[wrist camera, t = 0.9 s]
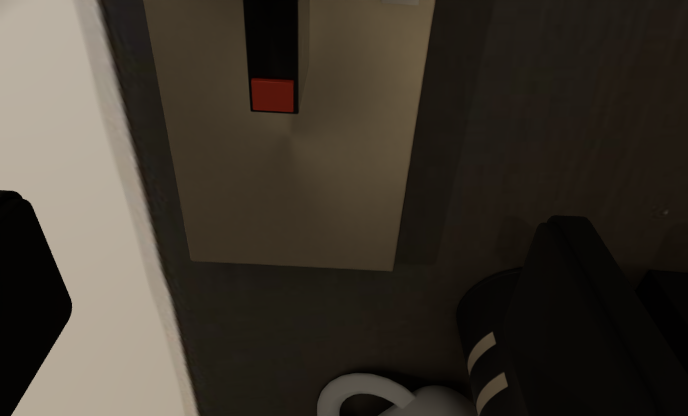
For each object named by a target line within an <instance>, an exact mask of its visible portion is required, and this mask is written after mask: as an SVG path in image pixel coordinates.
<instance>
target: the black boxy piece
mask: <svg viewBox="0 0 688 416" xmlns="http://www.w3.org/2000/svg"><path fill="white" fill-rule="evenodd" d="M243 11H244V26H245V41H246V55H247V70H248V85H249V99H250V111H251V112H264V113H282V114H298V113H299V110H300V105H301V100H302V95H303V91H304V86H305V81H306V77H307V72H308V67H309V11H310V0H243Z"/></svg>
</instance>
